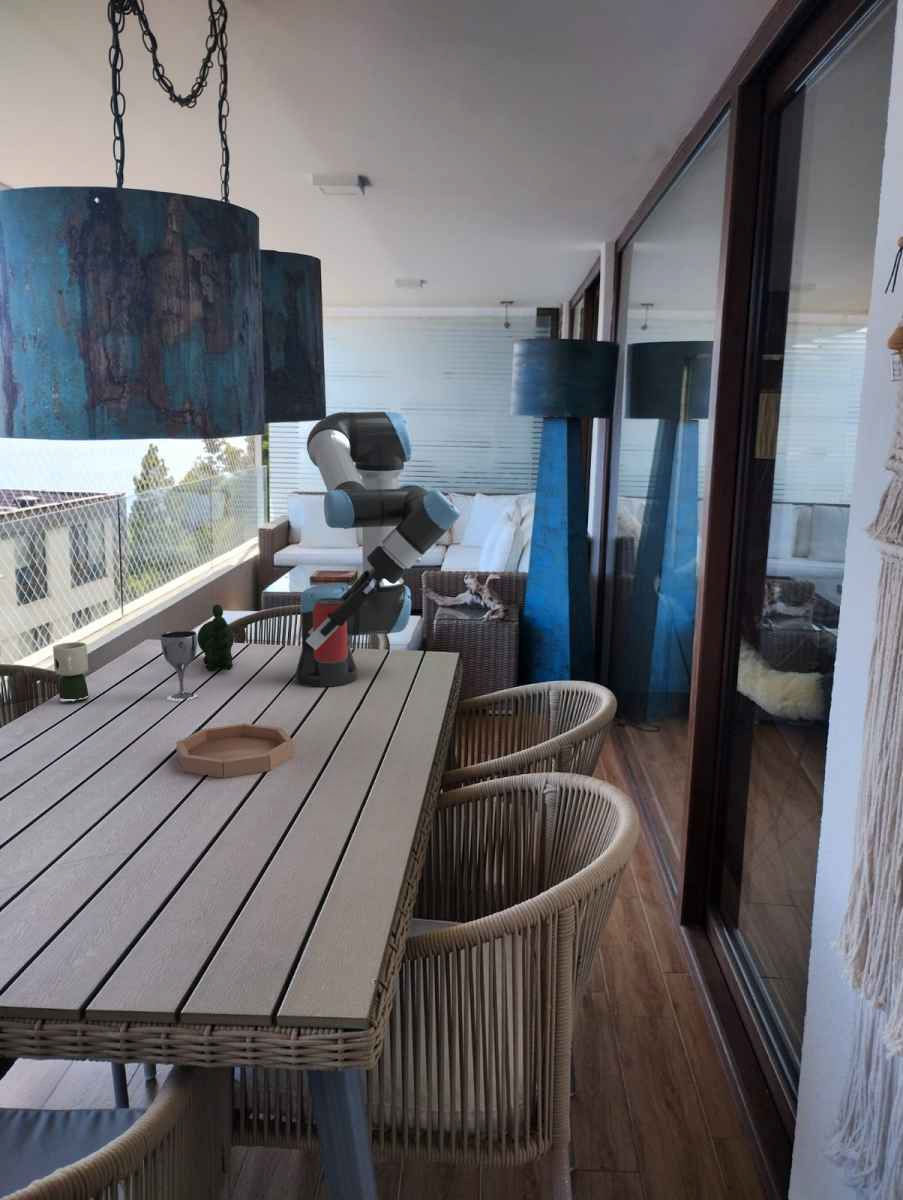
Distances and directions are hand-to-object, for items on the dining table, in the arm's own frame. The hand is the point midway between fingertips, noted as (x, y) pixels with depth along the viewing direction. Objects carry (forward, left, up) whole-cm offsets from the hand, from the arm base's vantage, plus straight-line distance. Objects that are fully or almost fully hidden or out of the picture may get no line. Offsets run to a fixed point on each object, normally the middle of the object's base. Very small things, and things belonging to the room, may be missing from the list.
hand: (312, 640), depth 187 cm
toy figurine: (-67, -7, -21) cm, 70 cm away
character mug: (-49, -43, -21) cm, 68 cm away
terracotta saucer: (+3, -17, -20) cm, 26 cm away
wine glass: (-42, -20, -21) cm, 51 cm away
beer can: (+1, +3, -4) cm, 6 cm away
